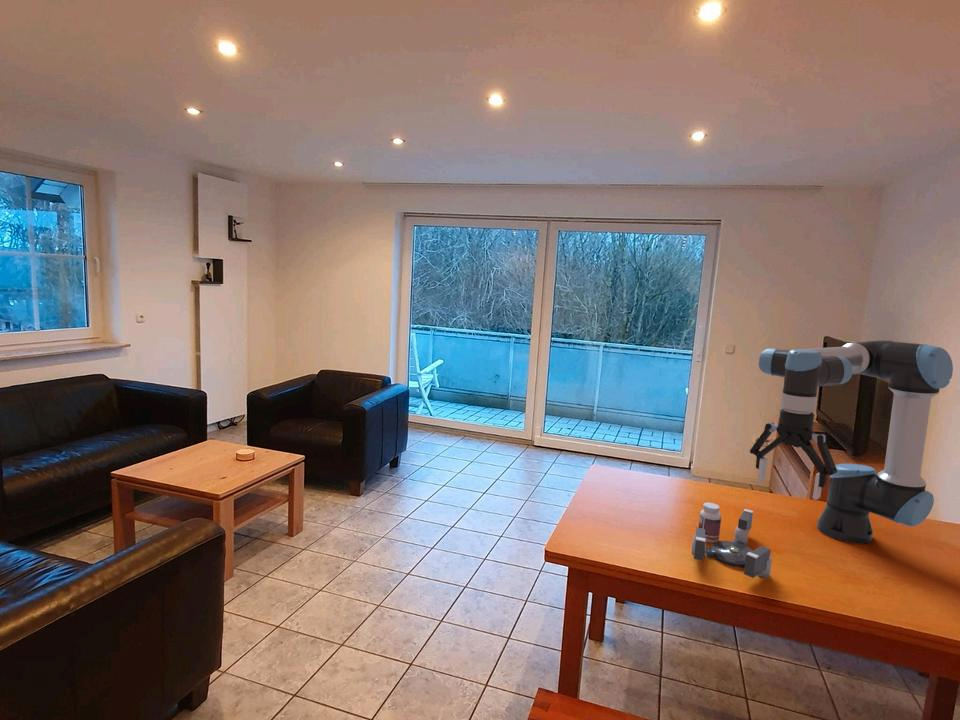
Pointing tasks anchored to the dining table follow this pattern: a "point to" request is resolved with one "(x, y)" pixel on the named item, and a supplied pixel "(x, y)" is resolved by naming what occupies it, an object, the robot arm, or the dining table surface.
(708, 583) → the dining table surface
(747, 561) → the grey bar white cap
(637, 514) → the dining table surface
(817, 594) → the dining table surface
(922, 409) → the robot arm
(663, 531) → the dining table surface
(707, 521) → the pill bottle
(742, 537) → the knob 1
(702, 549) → the dark bar with dome
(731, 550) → the base
